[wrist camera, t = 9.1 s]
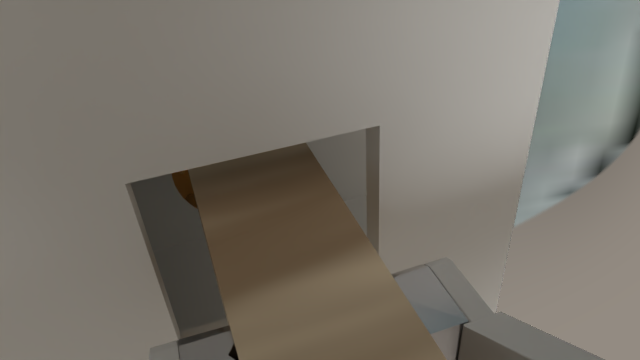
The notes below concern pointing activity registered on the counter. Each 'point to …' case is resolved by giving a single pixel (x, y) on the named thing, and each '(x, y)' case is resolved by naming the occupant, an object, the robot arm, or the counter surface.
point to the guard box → (245, 146)
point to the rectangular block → (300, 265)
